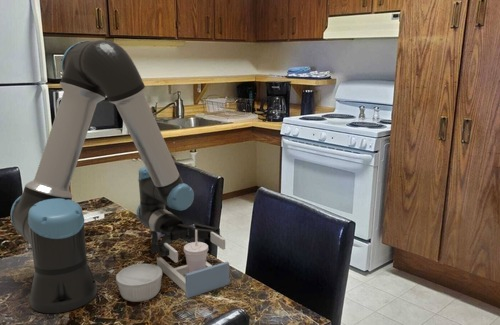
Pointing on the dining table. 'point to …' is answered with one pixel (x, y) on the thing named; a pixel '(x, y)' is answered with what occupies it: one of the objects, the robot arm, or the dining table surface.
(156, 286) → the ramekin
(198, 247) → the smoothie
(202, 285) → the drawer frame
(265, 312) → the dining table surface
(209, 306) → the dining table surface
